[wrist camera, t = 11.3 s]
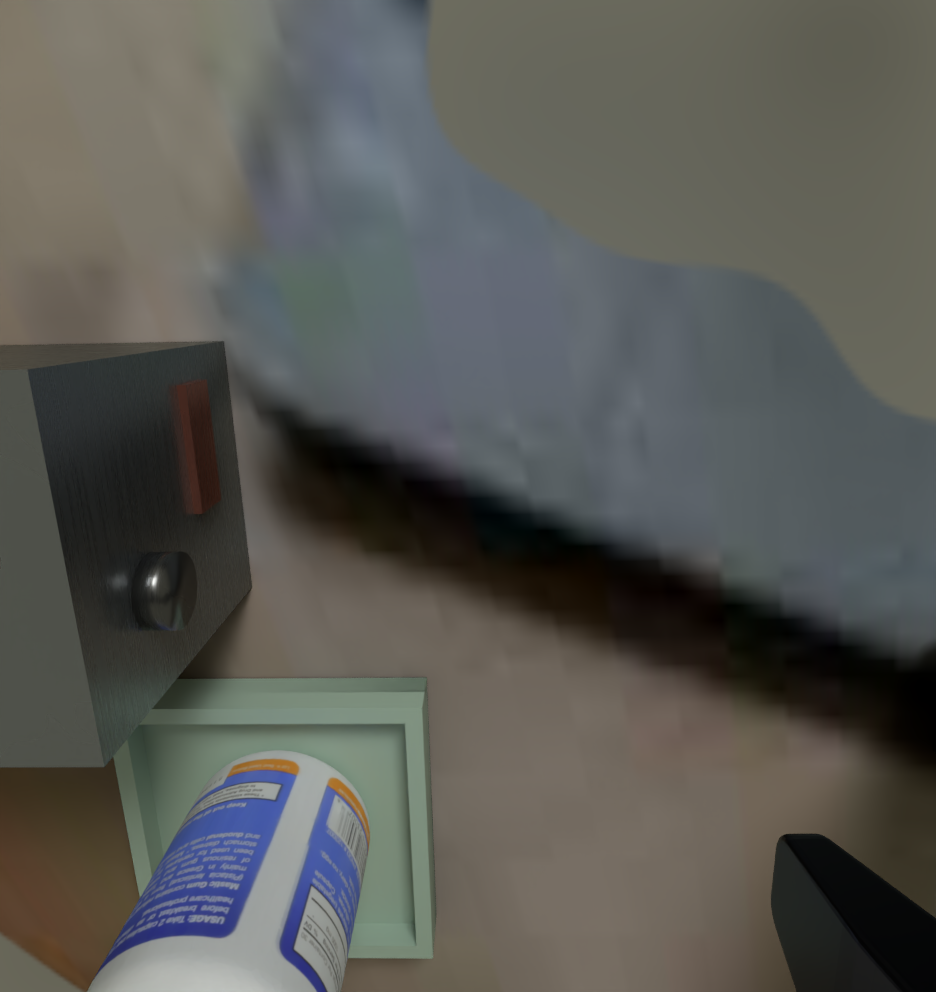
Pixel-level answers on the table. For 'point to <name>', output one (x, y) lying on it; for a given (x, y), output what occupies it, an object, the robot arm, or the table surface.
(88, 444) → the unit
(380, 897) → the tray
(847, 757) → the table surface
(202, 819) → the pill bottle
